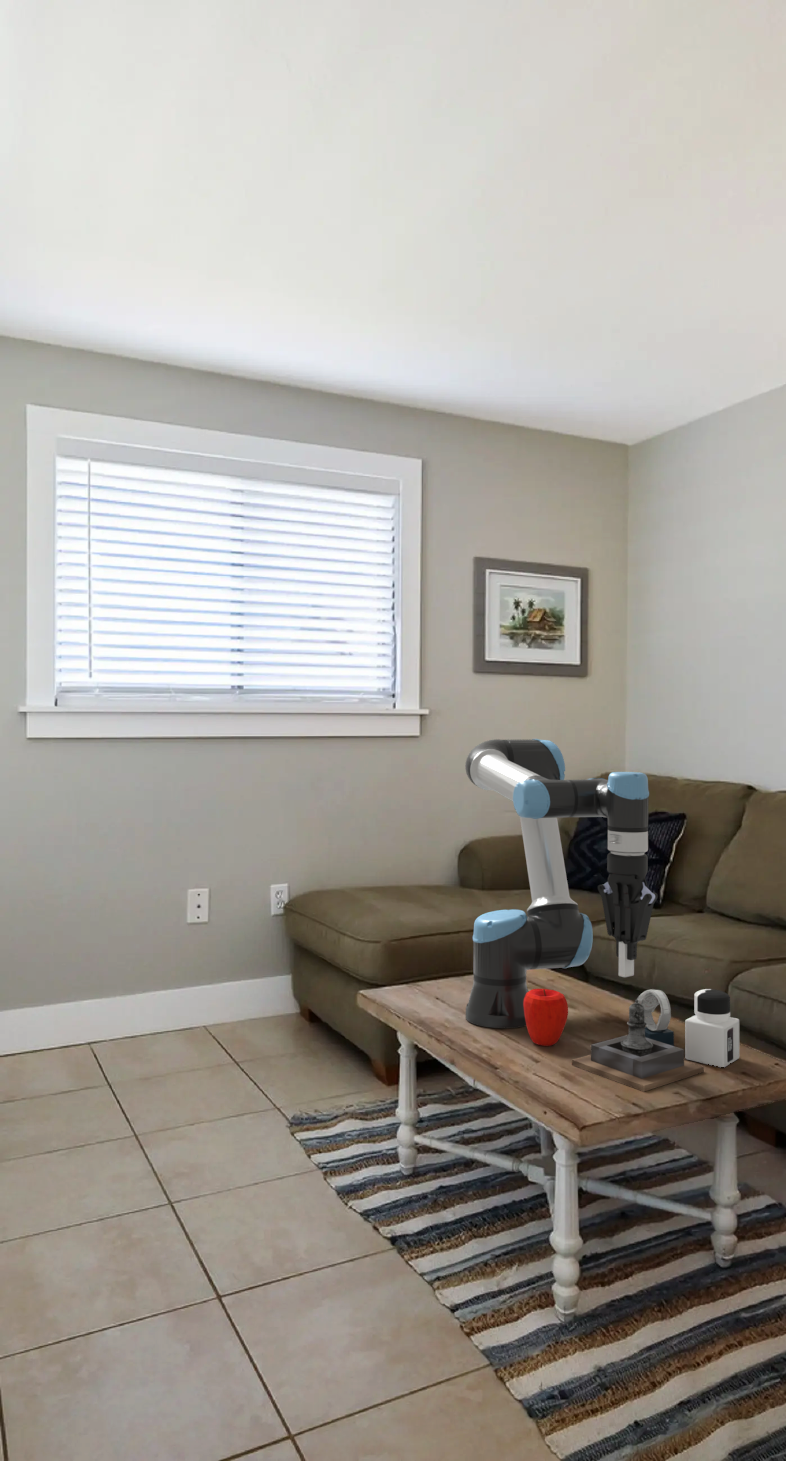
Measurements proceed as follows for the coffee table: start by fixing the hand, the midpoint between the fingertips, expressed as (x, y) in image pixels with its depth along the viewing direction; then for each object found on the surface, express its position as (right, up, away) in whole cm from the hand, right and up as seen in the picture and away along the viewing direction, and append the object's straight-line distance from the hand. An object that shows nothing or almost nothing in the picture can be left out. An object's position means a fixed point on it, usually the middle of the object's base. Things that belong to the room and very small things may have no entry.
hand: (626, 975), depth 183 cm
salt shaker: (+1, -16, -4) cm, 16 cm away
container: (+17, -17, +1) cm, 24 cm away
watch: (+8, -17, +9) cm, 21 cm away
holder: (+1, -16, -4) cm, 17 cm away
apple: (-14, -17, +11) cm, 24 cm away
